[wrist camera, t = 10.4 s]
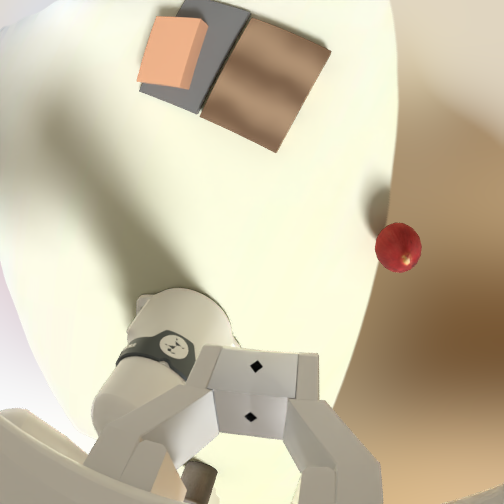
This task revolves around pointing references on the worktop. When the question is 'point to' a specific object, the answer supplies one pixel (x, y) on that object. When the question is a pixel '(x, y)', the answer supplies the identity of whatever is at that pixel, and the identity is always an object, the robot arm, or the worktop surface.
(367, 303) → the worktop surface
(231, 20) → the mat
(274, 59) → the board
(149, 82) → the orange rectangular block
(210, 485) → the pillar candle
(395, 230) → the onion
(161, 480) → the robot arm
